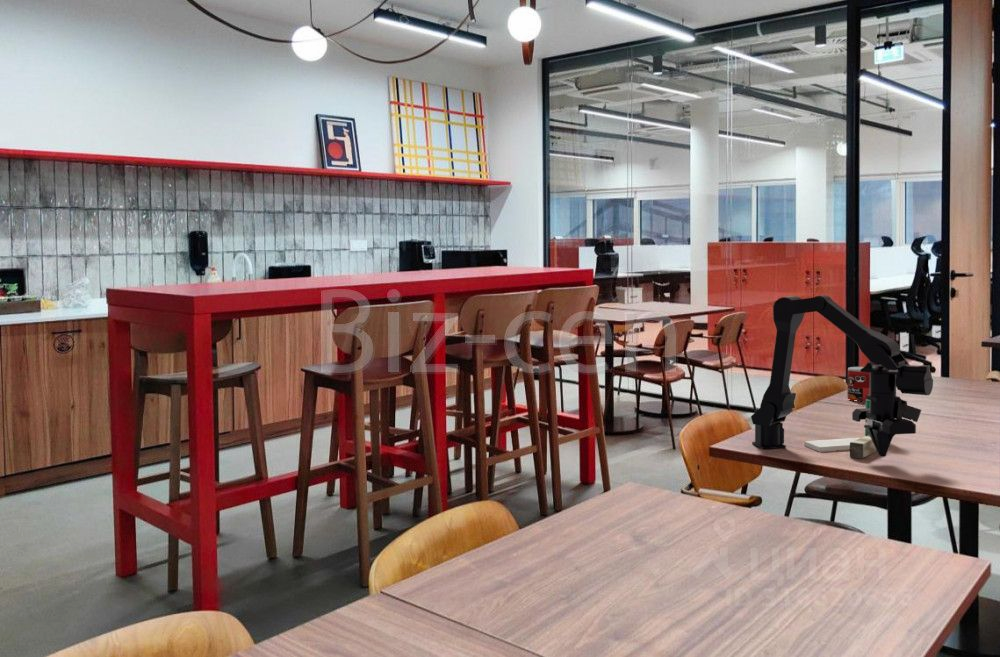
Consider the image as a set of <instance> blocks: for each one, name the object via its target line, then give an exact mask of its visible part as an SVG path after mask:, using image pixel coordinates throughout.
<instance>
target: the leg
mask: <svg viewBox="0 0 1000 657" xmlns="http://www.w3.org/2000/svg"><path fill="white" fill-rule="evenodd" d="M859 438H860V439H858V440H855V441H853V442H850V450H849V458H855V459H860V460H862V459H864V458H865V457H867V456H869V455H871V454H874V453H877V452H876V451H877V449H876V447H875V445H874V443H873V441H872V439H871V437H870V436H869V435H867V436H865V435H864V436H862V437H859Z"/></svg>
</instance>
